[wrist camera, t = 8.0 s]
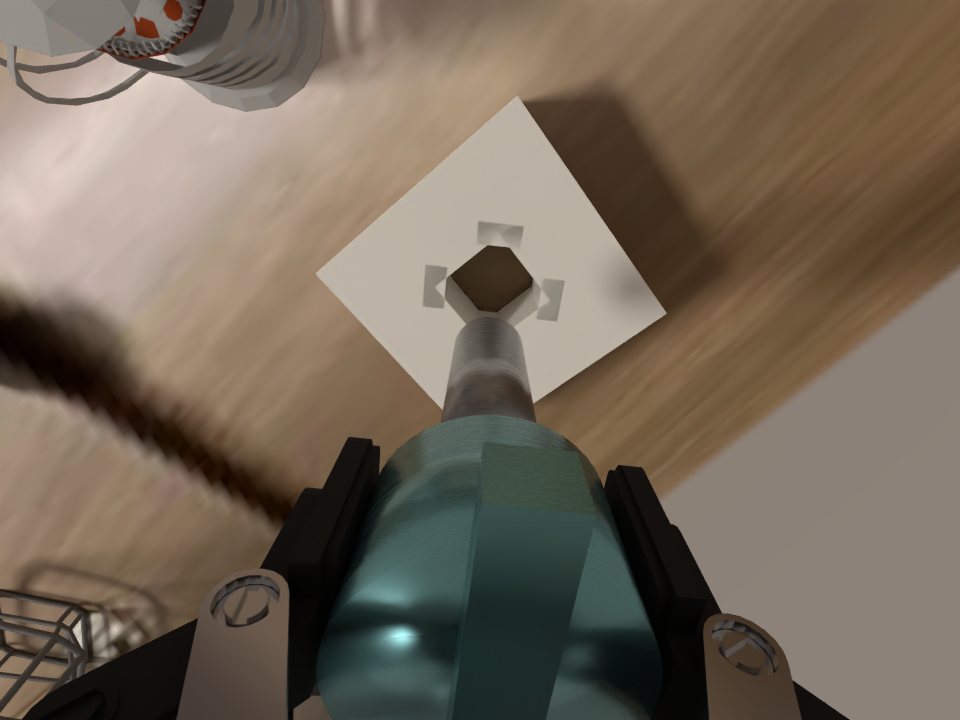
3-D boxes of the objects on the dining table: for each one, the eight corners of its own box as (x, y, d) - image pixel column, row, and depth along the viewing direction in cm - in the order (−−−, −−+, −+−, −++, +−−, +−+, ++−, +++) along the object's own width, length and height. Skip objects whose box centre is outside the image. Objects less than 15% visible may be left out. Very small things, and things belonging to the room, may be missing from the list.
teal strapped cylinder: (433, 238, 20) (273, 482, 5) (568, 254, 20) (798, 535, 5) (419, 431, 23) (296, 919, 8) (535, 444, 24) (615, 944, 9)
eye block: (642, 290, 33) (666, 313, 28) (476, 405, 36) (473, 443, 32) (513, 103, 29) (517, 95, 24) (340, 255, 32) (315, 273, 28)
